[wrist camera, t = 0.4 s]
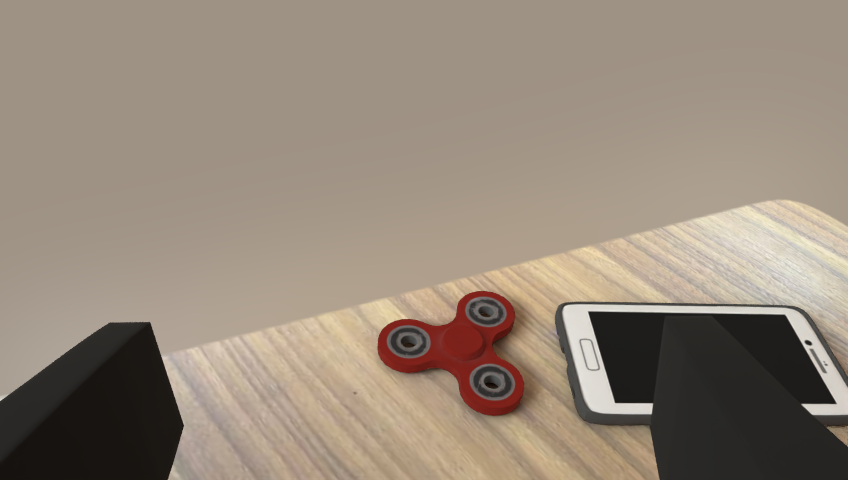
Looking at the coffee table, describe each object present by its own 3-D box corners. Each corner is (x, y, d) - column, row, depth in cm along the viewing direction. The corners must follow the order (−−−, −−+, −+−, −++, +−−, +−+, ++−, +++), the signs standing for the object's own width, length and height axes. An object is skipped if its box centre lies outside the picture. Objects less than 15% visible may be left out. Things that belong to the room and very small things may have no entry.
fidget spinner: (524, 421, 35) (528, 405, 34) (373, 415, 35) (374, 398, 34) (509, 304, 41) (512, 287, 41) (380, 298, 41) (381, 281, 40)
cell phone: (550, 312, 41) (553, 300, 41) (798, 316, 42) (805, 304, 42) (578, 427, 35) (582, 415, 35) (865, 429, 36) (874, 417, 36)
